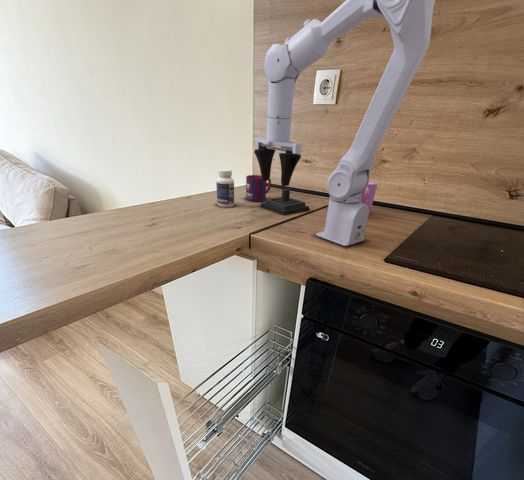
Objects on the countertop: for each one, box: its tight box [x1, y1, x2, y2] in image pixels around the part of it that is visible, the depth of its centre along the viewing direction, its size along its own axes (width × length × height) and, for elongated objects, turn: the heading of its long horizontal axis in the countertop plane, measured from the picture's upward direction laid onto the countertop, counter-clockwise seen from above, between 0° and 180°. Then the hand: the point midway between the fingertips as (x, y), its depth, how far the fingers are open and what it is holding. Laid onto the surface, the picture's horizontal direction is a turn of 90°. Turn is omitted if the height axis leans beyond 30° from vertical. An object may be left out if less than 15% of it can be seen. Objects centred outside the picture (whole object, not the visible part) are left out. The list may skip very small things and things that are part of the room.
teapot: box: [361, 181, 378, 213], centre depth 93 cm, size 18×14×10 cm
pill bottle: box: [215, 168, 235, 208], centre depth 93 cm, size 5×5×10 cm
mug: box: [245, 174, 272, 203], centre depth 103 cm, size 7×10×7 cm
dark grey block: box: [274, 188, 296, 205], centre depth 95 cm, size 5×5×4 cm
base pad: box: [260, 196, 310, 216], centre depth 96 cm, size 11×11×2 cm
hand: (275, 182), depth 80 cm, fingers open, 7 cm apart
